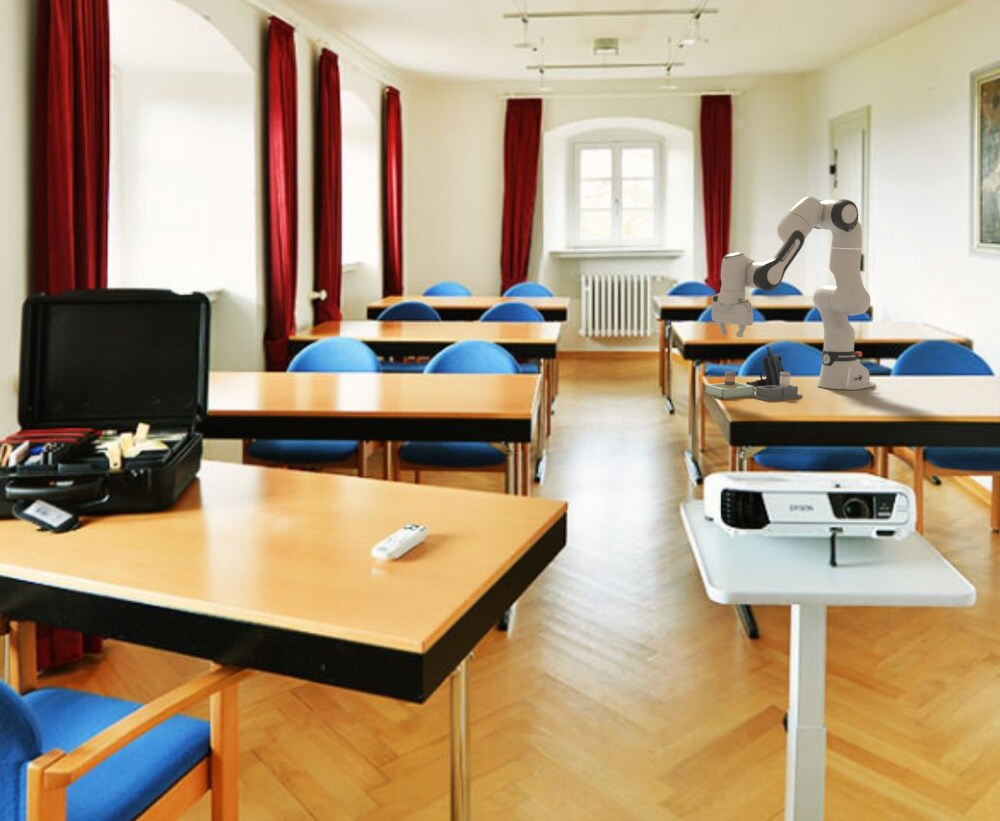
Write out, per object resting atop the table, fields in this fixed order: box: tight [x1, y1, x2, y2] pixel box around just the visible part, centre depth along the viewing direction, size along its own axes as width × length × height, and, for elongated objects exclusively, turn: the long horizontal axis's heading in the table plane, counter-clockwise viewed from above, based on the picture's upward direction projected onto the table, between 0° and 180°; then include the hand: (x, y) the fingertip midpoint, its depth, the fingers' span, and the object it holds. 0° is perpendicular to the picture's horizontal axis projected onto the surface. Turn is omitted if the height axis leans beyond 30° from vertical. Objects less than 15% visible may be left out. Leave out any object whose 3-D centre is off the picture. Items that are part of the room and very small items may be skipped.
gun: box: [745, 346, 786, 389], centre depth 387 cm, size 3×17×15 cm
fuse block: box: [750, 384, 803, 402], centre depth 371 cm, size 16×9×4 cm, turn 115°
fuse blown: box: [724, 370, 736, 388], centre depth 377 cm, size 4×4×8 cm
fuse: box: [780, 371, 791, 387], centre depth 372 cm, size 4×4×8 cm
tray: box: [704, 381, 756, 400], centre depth 377 cm, size 14×11×4 cm
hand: (731, 335), depth 373 cm, fingers open, 8 cm apart
